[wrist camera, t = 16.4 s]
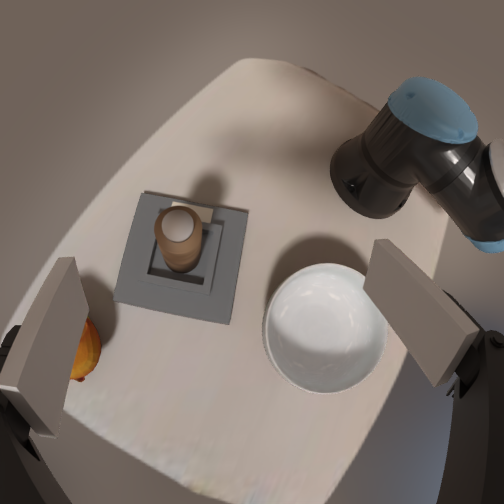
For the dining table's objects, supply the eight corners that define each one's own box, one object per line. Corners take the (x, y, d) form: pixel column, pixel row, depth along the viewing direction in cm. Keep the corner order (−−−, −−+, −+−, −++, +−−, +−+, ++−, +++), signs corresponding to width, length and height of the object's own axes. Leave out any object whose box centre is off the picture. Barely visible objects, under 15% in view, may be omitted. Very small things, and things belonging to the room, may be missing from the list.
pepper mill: (202, 240, 43) (206, 205, 31) (197, 276, 41) (198, 252, 30) (167, 235, 42) (158, 198, 31) (160, 270, 41) (148, 244, 29)
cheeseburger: (43, 297, 37) (24, 288, 29) (109, 314, 41) (105, 310, 32) (33, 363, 34) (12, 371, 25) (99, 381, 38) (94, 395, 29)
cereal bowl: (250, 386, 39) (260, 395, 33) (258, 268, 44) (269, 254, 37) (361, 385, 42) (386, 390, 35) (365, 278, 46) (389, 268, 40)
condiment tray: (247, 215, 46) (249, 209, 44) (228, 324, 41) (230, 324, 39) (142, 195, 44) (139, 188, 42) (114, 301, 39) (109, 298, 37)
